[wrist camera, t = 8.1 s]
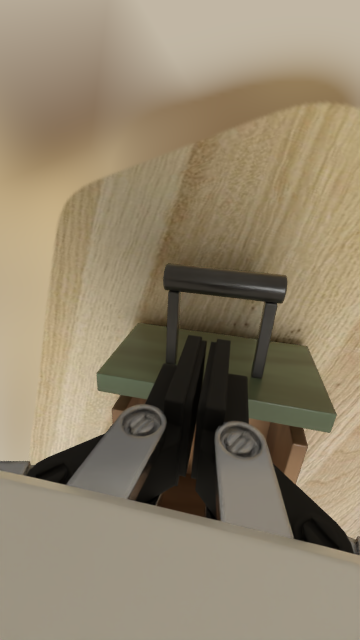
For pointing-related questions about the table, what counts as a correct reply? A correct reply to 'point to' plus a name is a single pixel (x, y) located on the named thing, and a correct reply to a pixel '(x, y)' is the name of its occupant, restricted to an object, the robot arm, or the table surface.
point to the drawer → (245, 359)
